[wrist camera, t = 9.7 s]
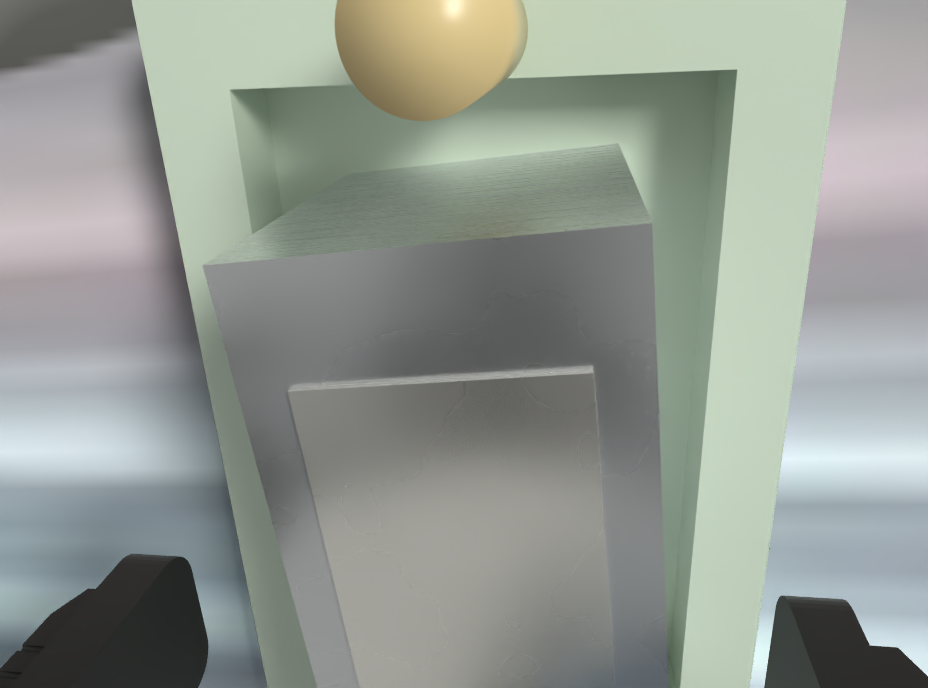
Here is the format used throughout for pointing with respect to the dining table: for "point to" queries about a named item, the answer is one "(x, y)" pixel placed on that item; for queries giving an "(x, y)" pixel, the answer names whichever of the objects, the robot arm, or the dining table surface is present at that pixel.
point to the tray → (521, 132)
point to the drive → (460, 421)
